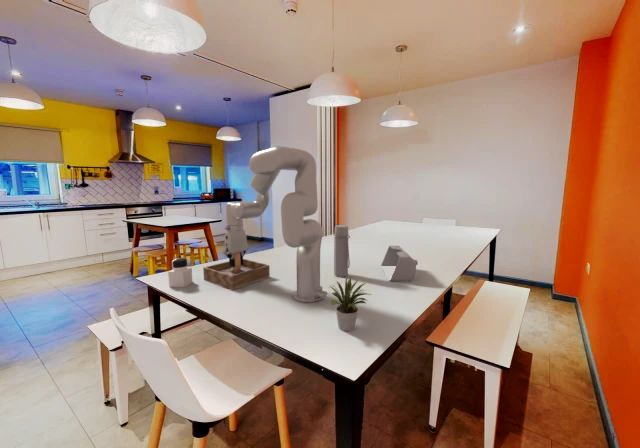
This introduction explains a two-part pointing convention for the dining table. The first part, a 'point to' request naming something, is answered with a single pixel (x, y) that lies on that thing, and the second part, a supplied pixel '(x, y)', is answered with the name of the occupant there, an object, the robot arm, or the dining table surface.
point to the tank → (400, 264)
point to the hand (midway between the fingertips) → (236, 265)
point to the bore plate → (229, 272)
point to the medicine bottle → (180, 273)
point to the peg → (237, 263)
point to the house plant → (347, 305)
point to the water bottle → (341, 251)
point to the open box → (236, 280)
